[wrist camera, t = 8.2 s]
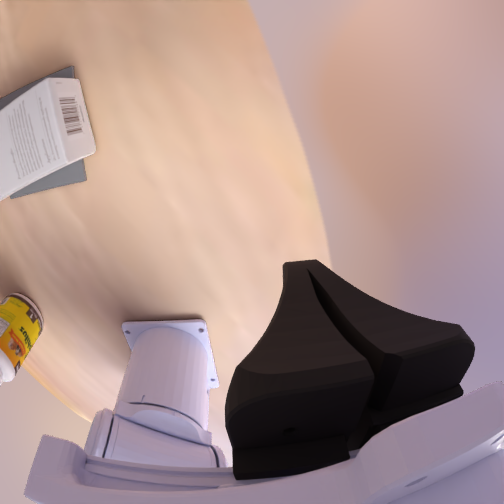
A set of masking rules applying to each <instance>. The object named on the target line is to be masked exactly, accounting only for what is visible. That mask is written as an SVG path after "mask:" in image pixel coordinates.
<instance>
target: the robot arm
mask: <svg viewBox="0 0 504 504" xmlns="http://www.w3.org/2000/svg"><path fill="white" fill-rule="evenodd" d="M121 328H122V330H123V333H124V335H125V338H126V340H127V342H128V345H129V347H130V349H131V352H132V353H131V356H130V359H129V362H128V365H127V368H126V372H125V375H124V378H123V381H122V384H121V388H120V391H119V394H118V398H117V401H116V405H115V408H114V410H113V412H112V411H111V410H109V409H107V408H104V409H103V411H102V410H101V411H99V412H96V414H95V417H94V420H93V422H92V425H91V428H90V431H89V435H88V438H87V441H86V444H85V448H84V450H83V449H82V448H81V447H80V446H78V445H77V444H75V443H73V442H71V441H68V440H64V439H60V438H56V437H53V436H49V435H46V434H45V435H43V436H42V439H41V441H40V444H39V447H38V450H37V453H36V456H35V458H34V461H33V465H32V468H31V471H30V474H29V477H28V481H27V485H26V488H25V492H24V495H25V497H27V498H29V499H30V500H32V501H34V502H35V503H37V504H504V384H503V383H502V381H498V382H493V383H490V384H487V385H485V386H483V387H481V388H479V389H477V390H475V391H473V392H470V393H468V394H466V395H464V396H462V395H463V389H462V388H461V386H460V384H459V383H460V382H461V380H462V378H463V377H464V375H465V373H466V371H467V370H468V368H469V366H470V364H471V362H472V360H473V357H474V352H475V346H474V343H473V341H472V340H471V339H470V337H469V336H468V335H467V334H466V332H465V331H464V330H463V329H462V327H461V326H460V325H458V324H452V323H447V322H441V321H436V320H431V319H428V318H424V317H421V316H417V315H414V314H411V313H408V312H405V311H402V310H399V309H397V308H394V307H392V306H390V305H387V304H385V303H383V302H381V301H379V300H377V299H375V298H373V297H371V296H369V295H367V294H366V293H364V292H362V291H361V290H359V289H357V288H356V287H354V286H353V285H351V284H350V283H348V282H347V281H345V280H344V279H342V278H341V277H340V276H338V275H337V274H335V273H334V272H333V271H331V270H330V269H329V268H327V267H326V266H325V265H323V264H322V263H321V262H319V261H318V260H316V259H315V260H305V261H295V262H285V263H284V264H283V290H282V294H281V297H280V300H279V304H278V306H277V309H276V311H275V314H274V316H273V318H272V320H271V322H270V324H269V326H268V328H267V329H266V331H265V333H264V334H263V336H262V337H261V339H260V340H259V341H258V343H257V344H256V345H255V347H254V348H253V349H252V351H251V352H250V353H249V354H248V355H247V356H246V357H245V358H244V359H243V360H242V362H241V363H240V364H239V365H238V366H237V367H236V369H235V372H234V374H233V377H232V380H231V383H230V386H229V389H228V393H227V398H226V404H225V427H226V430H227V433H228V436H229V439H230V442H231V446H232V454H233V467H228V464H227V461H226V458H225V456H224V454H223V452H222V450H221V449H220V448H219V447H218V446H215V445H211V444H212V433H211V432H208V412H209V391H210V388H217V387H219V380H218V376H217V372H216V367H215V363H214V358H213V354H212V349H211V344H210V340H209V335H208V330H207V325H206V322H205V321H204V320H202V319H195V320H173V321H141V322H123V323H122V326H121ZM200 328H202V329H203V330H200ZM127 330H128V331H130V332H128V331H127ZM212 378H214V379H212ZM460 396H462V397H460Z"/></svg>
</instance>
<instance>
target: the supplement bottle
mask: <svg viewBox="0 0 504 504" xmlns="http://www.w3.org/2000/svg"><path fill="white" fill-rule="evenodd" d="M42 330H43V319H42V316H41V313H40V311H39V310H38V308H37V307H36V305H35V304H34V303H33V302H32V301H31V300H30V299H29V298H27V297H26V296H24V295H22V294H19V293H12V294H9V295H8V296H7V297H6V298H5V299H4V300H3V302H2V303H1V304H0V386H1V385H2V382H3V381H5V382H9V381H11V380H13V378H14V377H15V375H16V373H17V371H18V370H19V368H20V366H21V365H22V363H23V361H24V360H25V358H26V356H27V355H28V353H29V351H30V350H31V348H32V346H33V345H34V343H35V342H36V340H37V338H38V337H39V335H40V334H41V332H42Z"/></svg>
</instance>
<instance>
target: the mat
mask: <svg viewBox="0 0 504 504" xmlns="http://www.w3.org/2000/svg"><path fill="white" fill-rule="evenodd" d="M46 78H73V79H74V66H71V67H68V68H65V69H63V70H60V71H58V72H55V73H53V74H50V75H48V76H46V77H44V78H41V79H39V80H37V81H35V82H32V83H30V84H28V85H26V86H24V87H22V88H20V89H18V90H16V91H14V92H12V93H10V94H9V95H7V96H5V97H3V98H1V99H0V110H2V109H3V108H4V107H5V106H7V105H8V104H9V103H11V102H12V101H13V100H15V99H16V98H18V97H19V96H20V95H22V94H23V93H25V92H26V91H28V90H29V89H30V88H32V87H33V86H35V85H37V84H38V83H40V82H41V81H43V80H44V79H46ZM86 180H87V179H86V173H85V168H84V162H83V159H80V160H78V161H76V162H74V163H72V164H69V165H67V166H65V167H63V168H61V169H59V170H57V171H55V172H53V173H51V174H49V175H47V176H45V177H43V178H41V179H39V180H37V181H35V182H33V183H31V184H29V185H28V186H26V187H24V188H22V189H20V190H18V191H17V192H15V193H13V194H12V195H10V198H11V199H13V198H17V197H20V196H24V195H28V194H32V193H35V192H39V191H43V190H47V189H51V188H56V187H60V186H64V185H69V184H73V183H78V182H83V181H86Z"/></svg>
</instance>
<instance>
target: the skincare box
mask: <svg viewBox="0 0 504 504" xmlns="http://www.w3.org/2000/svg"><path fill="white" fill-rule="evenodd" d="M95 152H96V145H95V141H94V137H93V133H92V130H91V126H90V122H89V118H88V114H87V110H86V106H85V102H84V98H83V94H82V89H81V84H80V81H79V79H73V78H46V79H44V80H43V81H41V82H40V83H38V84H37V85H35V86H33V87H32V88H30V89H29V90H28V91H26V92H25V93H23V94H22V95H20V96H19V97H18V98H16V99H15V100H13V101H12V102H11V103H9V104H8V105H7V106H5V107H4V108H3V109H2V110H0V201H2V200H3V199H5V198H7V197H8V196H10V195H12V194H13V193H15V192H17V191H18V190H20V189H22V188H24V187H26V186H28V185H29V184H31V183H33V182H35V181H37V180H39V179H41V178H43V177H45V176H47V175H49V174H51V173H53V172H55V171H57V170H59V169H61V168H63V167H65V166H67V165H69V164H72V163H74V162H76V161H78V160H80V159H83V158H85V157H87V156H89V155H92V154H94V153H95Z"/></svg>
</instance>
